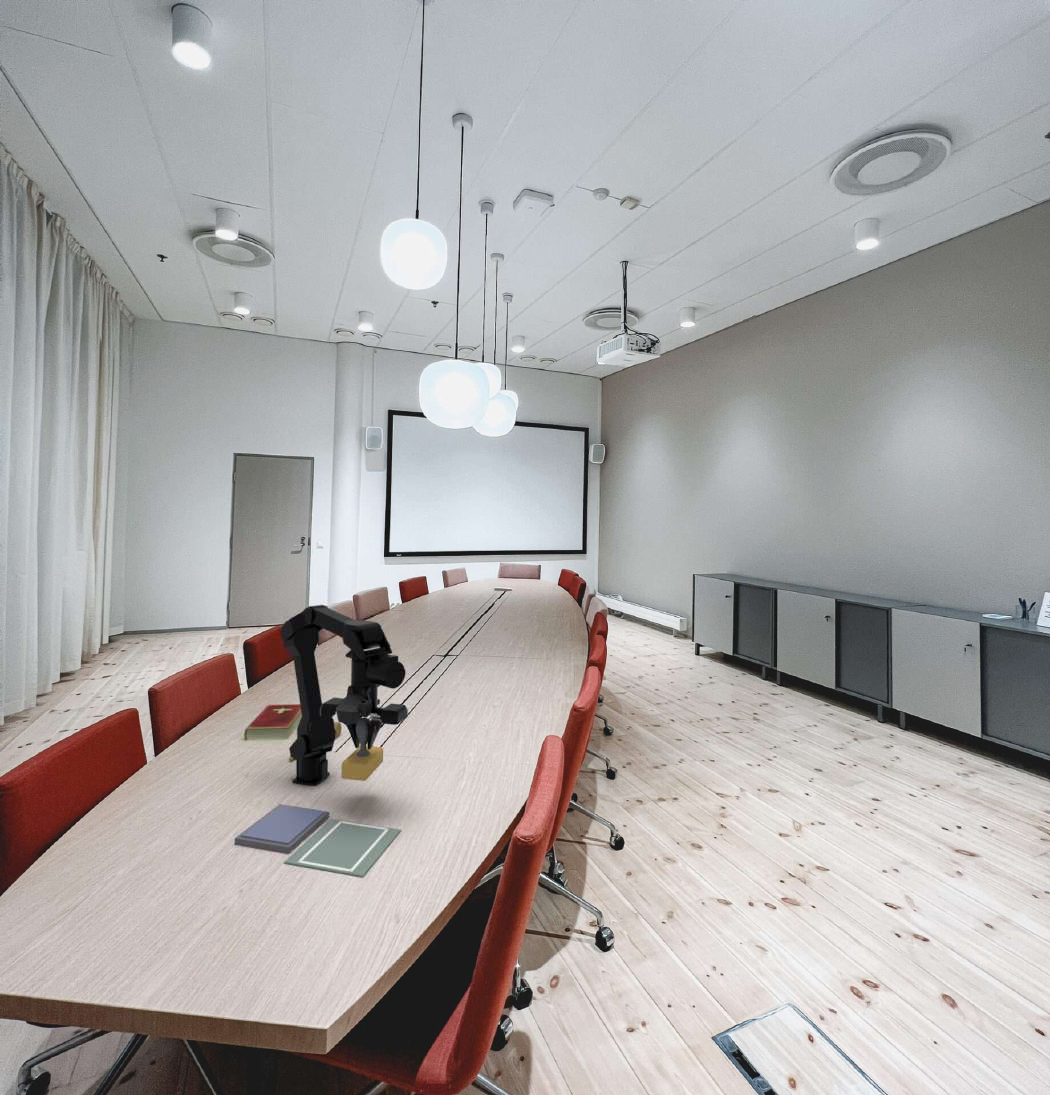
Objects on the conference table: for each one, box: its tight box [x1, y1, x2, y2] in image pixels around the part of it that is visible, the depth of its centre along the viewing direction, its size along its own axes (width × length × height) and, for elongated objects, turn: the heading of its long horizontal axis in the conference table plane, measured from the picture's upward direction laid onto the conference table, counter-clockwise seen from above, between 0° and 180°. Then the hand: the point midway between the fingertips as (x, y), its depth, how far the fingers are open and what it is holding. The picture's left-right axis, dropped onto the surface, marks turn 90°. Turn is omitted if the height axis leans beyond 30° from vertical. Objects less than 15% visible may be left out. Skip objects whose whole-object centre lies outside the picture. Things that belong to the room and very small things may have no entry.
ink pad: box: [234, 803, 330, 854], centre depth 119 cm, size 12×14×2 cm
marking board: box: [283, 818, 402, 878], centre depth 113 cm, size 16×16×1 cm
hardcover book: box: [243, 703, 302, 741], centre depth 176 cm, size 12×21×4 cm, turn 8°
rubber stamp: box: [340, 717, 384, 782], centre depth 129 cm, size 10×6×12 cm, turn 173°
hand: (363, 748), depth 129 cm, fingers closed on rubber stamp, 3 cm apart
